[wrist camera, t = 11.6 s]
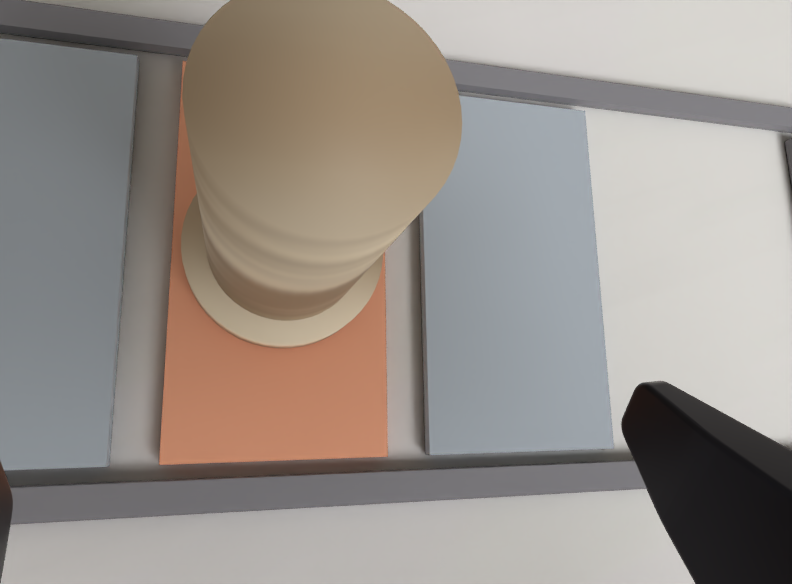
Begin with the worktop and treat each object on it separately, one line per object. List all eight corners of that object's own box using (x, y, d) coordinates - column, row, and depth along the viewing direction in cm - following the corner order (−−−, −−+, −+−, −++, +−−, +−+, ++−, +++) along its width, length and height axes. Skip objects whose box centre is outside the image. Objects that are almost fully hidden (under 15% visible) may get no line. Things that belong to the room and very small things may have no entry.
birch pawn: (383, 341, 17) (520, 272, 9) (187, 356, 15) (139, 290, 7) (366, 166, 18) (476, -41, 10) (180, 165, 16) (129, -78, 8)
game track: (859, 475, 21) (871, 476, 20) (-183, 532, 13) (-196, 535, 13) (800, 115, 23) (810, 110, 23) (-95, -7, 16) (-103, -18, 15)
